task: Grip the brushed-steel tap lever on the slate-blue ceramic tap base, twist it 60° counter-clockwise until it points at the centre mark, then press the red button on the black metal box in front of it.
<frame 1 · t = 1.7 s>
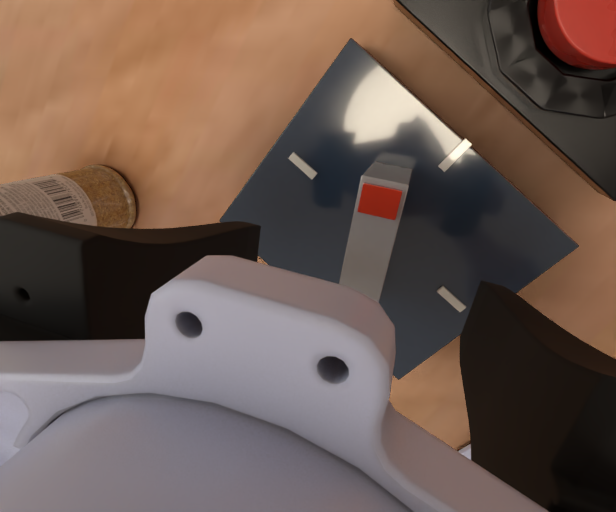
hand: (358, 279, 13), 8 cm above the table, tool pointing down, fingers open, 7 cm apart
button box: (581, 13, 15), on the table
tap lever: (371, 246, 16), point 5 cm above the table, hinge at -60.0°
spice jar: (111, 200, 25), on the table
tap base: (384, 215, 20), on the table
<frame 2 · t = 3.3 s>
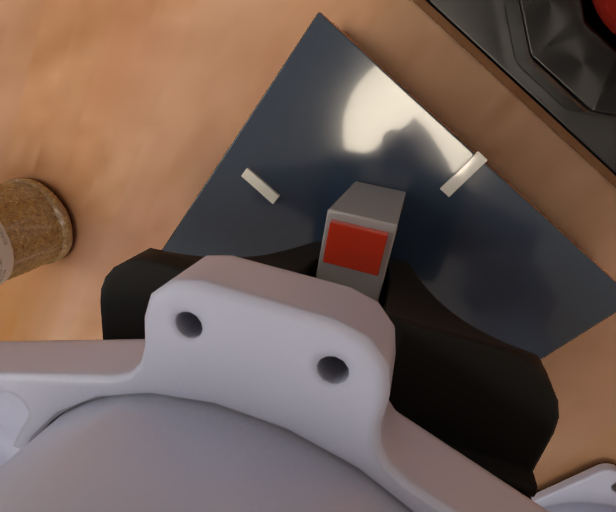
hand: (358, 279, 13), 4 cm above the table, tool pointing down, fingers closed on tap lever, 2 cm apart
tap lever: (349, 299, 11), point 5 cm above the table, hinge at -60.1°, touching gripper
spice jar: (45, 219, 21), on the table
tap base: (372, 244, 16), on the table
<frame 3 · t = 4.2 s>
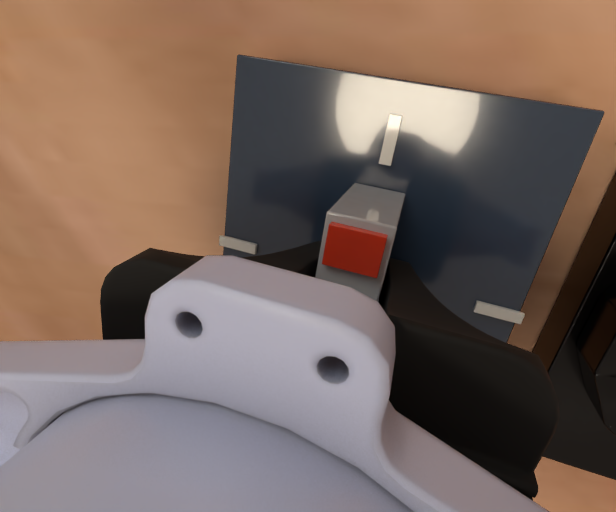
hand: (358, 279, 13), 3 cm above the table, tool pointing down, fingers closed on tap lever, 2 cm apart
tap lever: (349, 301, 11), point 5 cm above the table, hinge at -0.1°, touching gripper
tap base: (371, 246, 16), on the table
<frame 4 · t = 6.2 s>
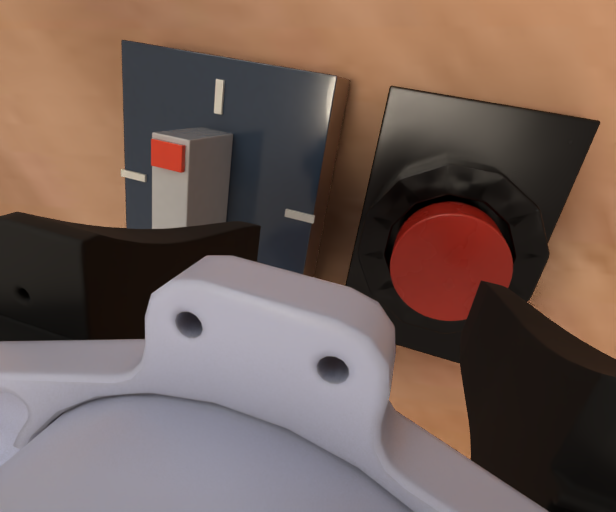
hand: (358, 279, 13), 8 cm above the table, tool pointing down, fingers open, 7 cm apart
red button: (447, 260, 16), point 4 cm above the table, slide at 0.1 cm
button box: (444, 230, 19), on the table
tap lever: (191, 203, 17), point 5 cm above the table, hinge at -0.1°
tap base: (240, 183, 22), on the table
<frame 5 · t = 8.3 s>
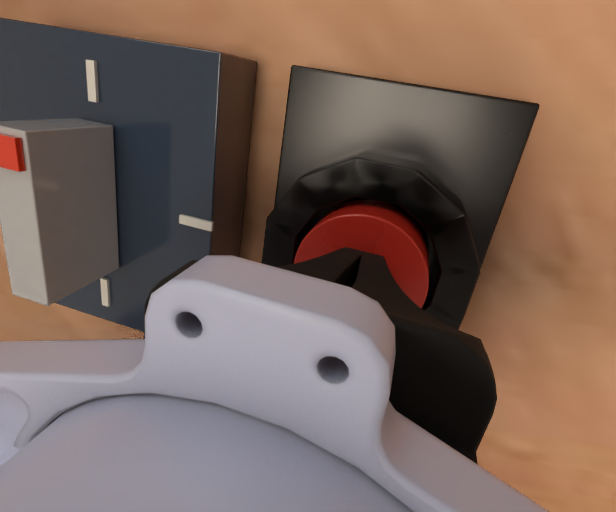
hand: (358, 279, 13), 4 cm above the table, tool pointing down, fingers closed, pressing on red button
red button: (362, 268, 14), point 3 cm above the table, slide at -0.7 cm, touching gripper
button box: (374, 238, 17), on the table
tap lever: (60, 209, 14), point 5 cm above the table, hinge at -0.1°
tap base: (148, 184, 19), on the table
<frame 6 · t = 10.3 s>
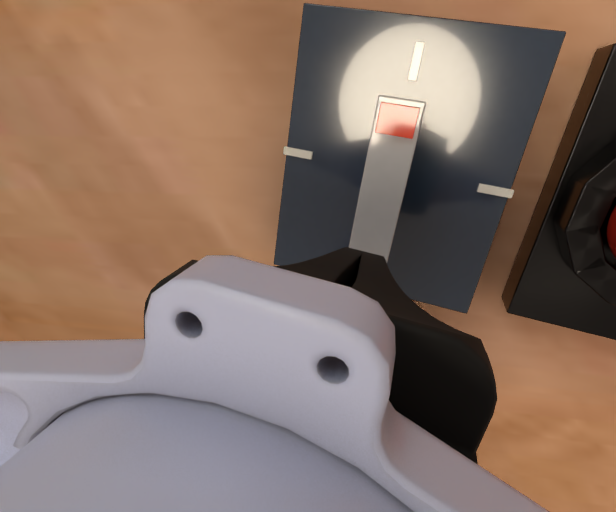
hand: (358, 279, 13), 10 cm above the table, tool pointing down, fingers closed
tap lever: (387, 178, 16), point 5 cm above the table, hinge at -0.1°
tap base: (396, 161, 20), on the table
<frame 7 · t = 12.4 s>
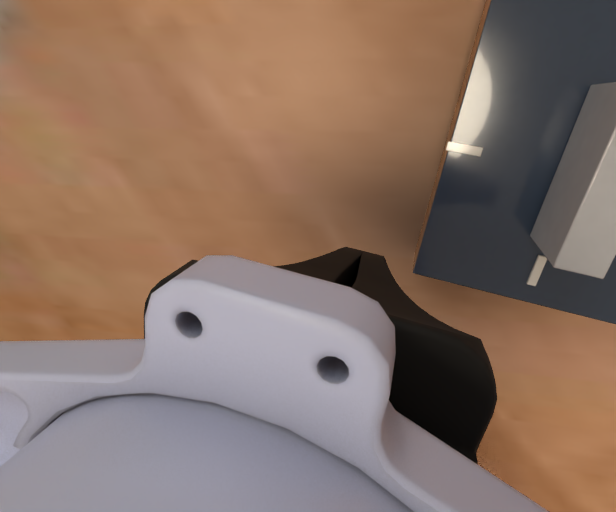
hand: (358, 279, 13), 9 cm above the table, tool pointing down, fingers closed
tap lever: (598, 178, 14), point 5 cm above the table, hinge at -0.1°
tap base: (557, 160, 18), on the table
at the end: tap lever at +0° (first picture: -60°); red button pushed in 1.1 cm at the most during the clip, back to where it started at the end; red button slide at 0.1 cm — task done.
